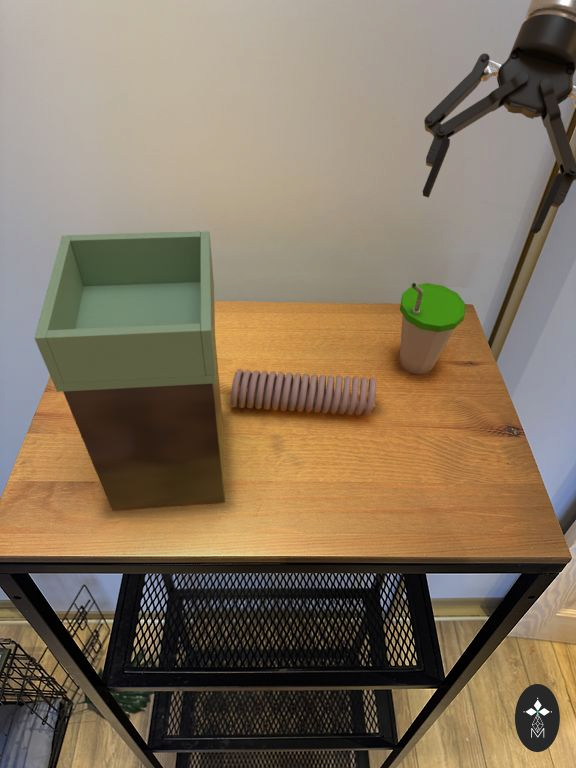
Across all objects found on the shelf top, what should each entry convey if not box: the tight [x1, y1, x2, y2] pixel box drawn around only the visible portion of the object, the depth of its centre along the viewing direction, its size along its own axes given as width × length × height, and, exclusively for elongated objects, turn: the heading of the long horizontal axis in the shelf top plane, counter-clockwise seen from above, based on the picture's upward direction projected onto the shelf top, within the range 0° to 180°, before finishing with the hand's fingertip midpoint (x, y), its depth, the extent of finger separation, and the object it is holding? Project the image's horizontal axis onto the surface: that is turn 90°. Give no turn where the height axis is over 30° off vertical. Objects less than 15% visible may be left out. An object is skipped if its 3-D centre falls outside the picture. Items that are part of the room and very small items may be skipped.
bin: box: [34, 230, 217, 393], centre depth 48 cm, size 13×13×6 cm
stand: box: [62, 338, 226, 511], centre depth 58 cm, size 12×12×20 cm
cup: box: [398, 282, 466, 376], centre depth 71 cm, size 8×8×15 cm
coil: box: [229, 368, 377, 416], centre depth 69 cm, size 5×5×18 cm
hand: (479, 212), depth 69 cm, fingers open, 13 cm apart
